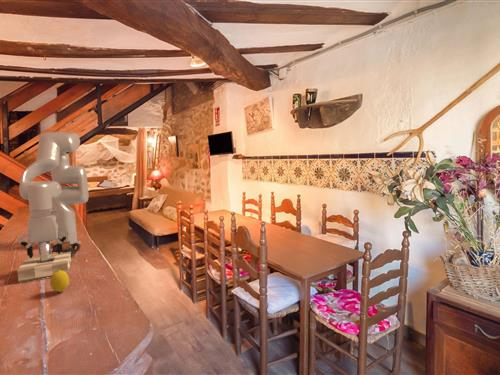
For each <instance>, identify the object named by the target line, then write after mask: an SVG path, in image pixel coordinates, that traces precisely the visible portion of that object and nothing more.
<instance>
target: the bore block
mask: <svg viewBox="0 0 500 375" xmlns="http://www.w3.org/2000/svg"><path fill="white" fill-rule="evenodd" d="M51 255H52V261H51V262H45V263H40V255H39V256H32V258H29V257H26V258H25V260H23V262H22V264H21V265H20V266H19V268H18V269H17V278H18V279H17V280H18V284H22V283H21V282H24V283H29V282H28V281H30V282H34V281H33V280H36V281H39V280H38V279H42V278H46V277H51V276H52V275H53V274H54V273H55V272H57V271H58V270H61V271H65V272H66V273H68V272H69V273H70V271H69V269H71V267H70V265H71V266H72V257H71V252H66V253H63V252H61V253H60V254H58V253H51ZM42 280H43V279H42Z"/></svg>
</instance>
